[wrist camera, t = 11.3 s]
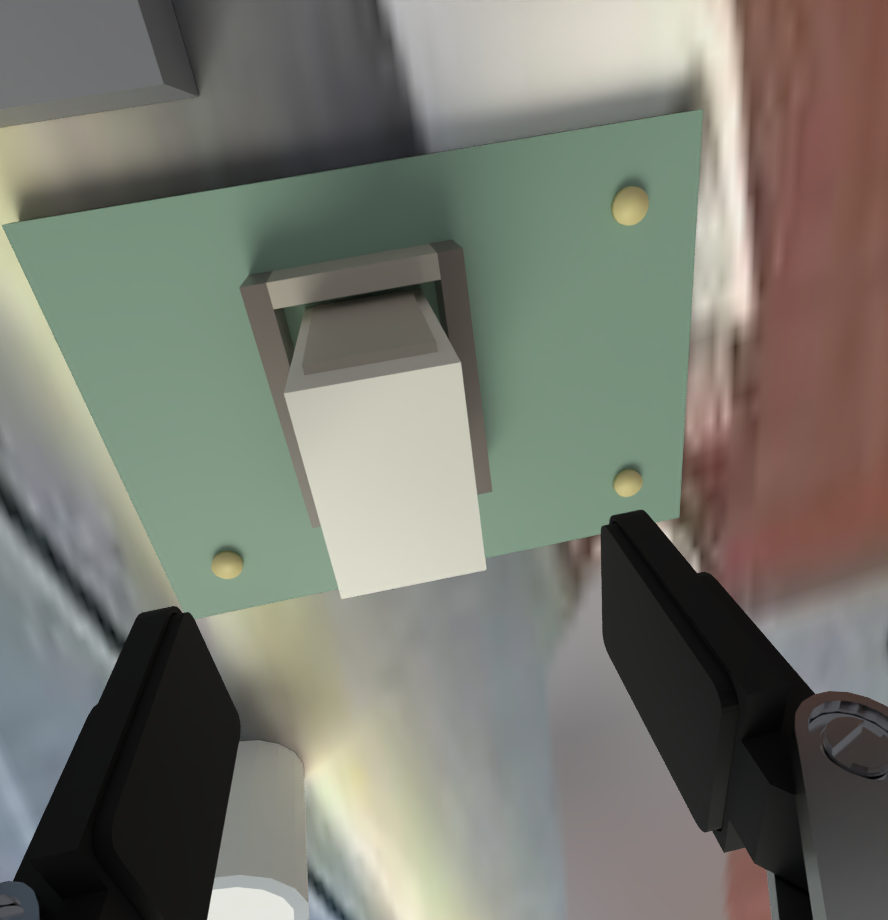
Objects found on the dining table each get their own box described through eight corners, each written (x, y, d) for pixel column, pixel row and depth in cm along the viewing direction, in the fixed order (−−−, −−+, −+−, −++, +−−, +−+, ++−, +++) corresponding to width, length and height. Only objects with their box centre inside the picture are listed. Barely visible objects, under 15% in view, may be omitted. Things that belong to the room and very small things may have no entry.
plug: (419, 281, 20) (459, 351, 13) (443, 443, 23) (486, 569, 16) (303, 300, 20) (280, 382, 13) (342, 461, 23) (341, 599, 16)
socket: (452, 239, 20) (462, 248, 18) (481, 466, 24) (492, 491, 22) (248, 274, 19) (239, 287, 18) (314, 500, 24) (312, 528, 22)
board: (687, 111, 20) (707, 108, 19) (668, 505, 28) (682, 521, 26) (18, 221, 19) (-4, 226, 17) (193, 604, 26) (185, 625, 25)
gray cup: (164, 748, 30) (118, 901, 24) (299, 720, 31) (288, 863, 24) (206, 826, 33) (175, 979, 27) (328, 799, 34) (324, 943, 28)
